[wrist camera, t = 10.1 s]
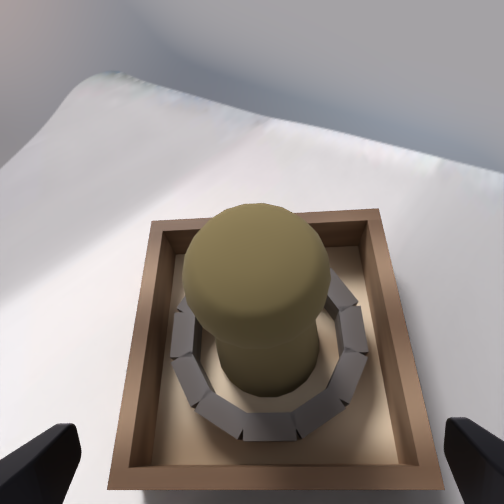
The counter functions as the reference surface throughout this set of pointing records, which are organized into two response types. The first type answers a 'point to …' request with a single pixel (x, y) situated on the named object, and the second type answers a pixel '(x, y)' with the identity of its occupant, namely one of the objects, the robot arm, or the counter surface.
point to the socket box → (283, 407)
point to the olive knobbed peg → (259, 295)
